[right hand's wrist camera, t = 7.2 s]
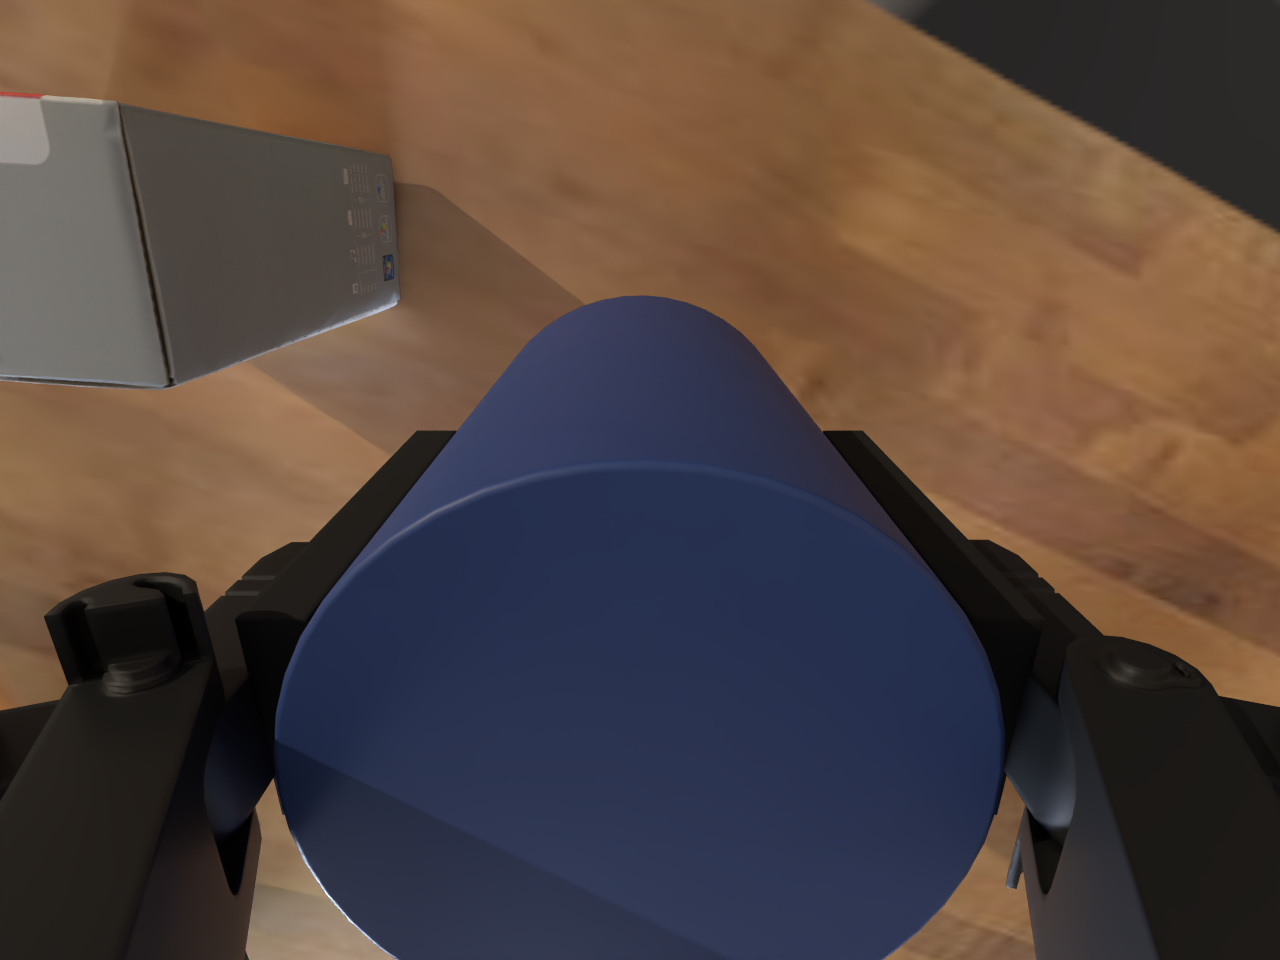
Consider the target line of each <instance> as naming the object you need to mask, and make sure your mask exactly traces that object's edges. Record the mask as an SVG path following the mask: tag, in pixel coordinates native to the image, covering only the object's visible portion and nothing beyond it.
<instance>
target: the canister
mask: <svg viewBox="0 0 1280 960" xmlns="http://www.w3.org/2000/svg"><path fill="white" fill-rule="evenodd" d="M1004 748H1005V730H1004V723H1003V716H1002V709H1001V703H1000V696H999V690H998V687H997V684H996V681H995V678H994V675H993V672H992V669H991V666H990V663H989V660H988V657H987V654H986V651H985V649H984V648H983V646H982V644H981V642H980V640H979V638H978V636H977V635H976V633H975V631H974V629H973V627H972V625H971V623H970V622H969V620H968V618H967V616H966V614H965V613H964V612H963V610H962V609H961V608H960V606H959V605H958V604H957V602H956V601H955V600H954V599H953V597H952V596H951V595H950V593H949V592H948V591H947V590H946V588H945V587H944V586H943V584H942V583H941V582H940V580H939V579H938V578H937V577H936V575H935V574H934V573H933V572H932V570H931V569H930V568H929V566H928V565H927V564H926V563H925V561H924V560H923V559H922V558H921V556H920V555H919V554H918V553H917V551H916V550H915V549H914V547H913V546H912V545H911V544H910V542H909V541H908V540H907V539H906V537H905V536H904V535H903V533H902V532H901V531H900V530H899V528H898V527H897V526H896V525H895V523H894V522H893V521H892V520H891V518H890V517H889V516H888V514H887V513H886V512H885V511H884V509H883V508H882V507H881V506H880V504H879V503H878V502H877V501H876V499H875V498H874V497H873V495H872V494H871V493H870V492H869V490H868V489H867V488H866V487H865V485H864V484H863V483H862V482H861V480H860V479H859V478H858V476H857V475H856V474H855V473H854V471H853V470H852V469H851V468H850V466H849V465H848V464H847V463H846V461H845V460H844V459H843V457H842V456H841V455H840V454H839V452H838V451H837V450H836V449H835V447H834V446H833V445H832V444H831V442H830V441H829V440H828V438H827V437H826V436H825V435H824V433H823V432H822V431H821V430H820V428H819V427H818V426H817V425H816V423H815V422H814V421H813V419H812V418H811V417H810V416H809V414H808V413H807V412H806V411H805V409H804V408H803V407H802V406H801V404H800V403H799V402H798V400H797V399H796V398H795V397H794V395H793V394H792V393H791V392H790V390H789V389H788V388H787V387H786V385H785V384H784V383H783V381H782V380H781V379H780V378H779V376H778V375H777V374H776V373H775V371H774V370H773V369H772V368H771V366H770V365H769V364H768V362H767V361H766V360H765V359H764V357H763V356H762V355H761V354H760V352H759V351H758V350H757V349H756V347H755V346H754V345H753V344H752V343H751V342H750V341H749V340H748V339H747V338H746V337H745V336H744V335H743V334H742V333H741V332H739V331H738V330H737V329H735V328H734V327H733V326H731V325H730V324H729V323H727V322H726V321H725V320H723V319H721V318H719V317H718V316H716V315H714V314H712V313H710V312H708V311H707V310H705V309H702V308H699V307H697V306H694V305H691V304H689V303H686V302H682V301H678V300H673V299H669V298H664V297H654V296H622V297H617V298H611V299H605V300H601V301H598V302H594V303H591V304H588V305H585V306H582V307H580V308H578V309H576V310H574V311H571V312H569V313H567V314H565V315H563V316H561V317H560V318H558V319H557V320H555V321H554V322H552V323H551V324H549V325H548V326H546V327H545V328H544V329H543V330H542V331H540V332H539V333H538V334H537V335H536V336H535V337H534V338H532V339H531V340H530V341H529V342H528V344H527V345H526V346H525V347H524V348H523V349H522V351H521V352H520V353H519V354H518V355H517V356H516V358H515V359H514V360H513V361H512V363H511V364H510V365H509V367H508V368H507V369H506V370H505V372H504V373H503V374H502V375H501V377H500V378H499V379H498V380H497V382H496V383H495V384H494V385H493V387H492V388H491V389H490V390H489V392H488V393H487V394H486V395H485V397H484V398H483V399H482V401H481V402H480V403H479V404H478V406H477V407H476V408H475V409H474V411H473V412H472V413H471V414H470V416H469V417H468V418H467V419H466V421H465V422H464V423H463V424H462V426H461V427H460V428H459V430H458V431H457V432H456V433H455V435H454V436H453V437H452V438H451V440H450V441H449V442H448V443H447V445H446V446H445V447H444V448H443V450H442V451H441V452H440V453H439V455H438V456H437V457H436V458H435V460H434V461H433V462H432V464H431V465H430V466H429V467H428V469H427V470H426V471H425V472H424V474H423V475H422V476H421V477H420V479H419V480H418V481H417V482H416V484H415V485H414V486H413V487H412V489H411V490H410V491H409V493H408V494H407V495H406V496H405V498H404V499H403V500H402V501H401V503H400V504H399V505H398V506H397V508H396V509H395V510H394V511H393V513H392V514H391V515H390V516H389V518H388V519H387V520H386V521H385V523H384V524H383V525H382V527H381V528H380V529H379V530H378V532H377V533H376V534H375V535H374V537H373V538H372V539H371V540H370V542H369V543H368V544H367V545H366V547H365V548H364V549H363V550H362V552H361V553H360V554H359V556H358V557H357V558H356V559H355V561H354V562H353V563H352V564H351V566H350V567H349V568H348V569H347V571H346V572H345V573H344V574H343V576H342V577H341V578H340V579H339V581H338V582H337V583H336V584H335V586H334V587H333V588H332V590H331V591H330V592H329V593H328V595H327V596H326V597H325V598H324V600H323V601H322V603H321V604H320V606H319V608H318V609H317V611H316V612H315V614H314V616H313V617H312V619H311V620H310V622H309V624H308V625H307V627H306V628H305V630H304V632H303V633H302V635H301V636H300V639H299V641H298V643H297V646H296V648H295V651H294V653H293V656H292V658H291V660H290V663H289V665H288V668H287V670H286V673H285V675H284V680H283V684H282V689H281V693H280V698H279V702H278V707H277V711H276V721H275V743H274V762H275V770H276V778H277V786H278V794H279V797H280V800H281V804H282V807H283V810H284V814H285V817H286V821H287V824H288V827H289V830H290V832H291V834H292V836H293V839H294V841H295V843H296V845H297V847H298V849H299V851H300V853H301V855H302V858H303V860H304V862H305V863H306V865H307V866H308V868H309V869H310V871H311V872H312V874H313V875H314V877H315V878H316V880H317V881H318V883H319V885H320V886H321V888H322V889H323V891H324V892H325V893H326V895H327V896H328V897H329V898H330V899H331V900H332V901H333V903H334V904H335V905H336V906H337V907H338V908H339V909H340V911H341V912H342V913H343V914H344V915H345V916H346V917H347V919H348V920H349V921H350V922H351V923H352V924H353V925H355V926H356V927H357V928H358V929H359V930H360V931H361V932H362V933H364V934H365V935H366V936H367V937H368V938H369V939H370V940H371V941H372V942H374V943H375V944H376V945H377V946H378V947H380V948H381V949H382V950H384V951H385V952H387V953H388V954H389V955H391V956H392V957H394V958H395V959H396V960H883V959H884V958H886V957H888V956H889V955H890V954H892V953H893V952H894V951H895V950H896V949H898V948H899V947H900V946H901V945H903V944H904V943H905V942H906V941H908V940H909V939H910V938H911V937H912V936H914V935H915V934H916V933H917V932H919V931H920V929H921V928H922V927H923V926H924V925H925V924H926V923H927V922H928V921H929V920H930V919H931V918H932V917H933V916H934V915H935V914H936V913H937V912H938V911H939V910H940V909H941V908H942V907H943V906H944V905H945V903H946V902H947V901H948V899H949V898H950V897H951V895H952V894H953V893H954V891H955V890H956V888H957V887H958V886H959V884H960V883H961V882H962V880H963V879H964V878H965V876H966V875H967V873H968V871H969V870H970V868H971V866H972V864H973V862H974V860H975V859H976V857H977V855H978V853H979V851H980V850H981V848H982V846H983V844H984V842H985V839H986V837H987V834H988V831H989V828H990V826H991V823H992V820H993V817H994V815H995V812H996V809H997V805H998V800H999V795H1000V790H1001V784H1002V779H1003V774H1004Z"/></svg>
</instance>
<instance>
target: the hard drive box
mask: <svg viewBox="0 0 1280 960" xmlns="http://www.w3.org/2000/svg"><path fill="white" fill-rule="evenodd" d="M399 299H400V283H399V263H398V246H397V232H396V216H395V200H394V186H393V172H392V162H391V158H390V157H389V156H387V155H383V154H379V153H374V152H370V151H365V150H360V149H355V148H350V147H345V146H340V145H335V144H330V143H324V142H318V141H312V140H307V139H301V138H296V137H290V136H285V135H279V134H274V133H268V132H263V131H257V130H252V129H247V128H242V127H237V126H231V125H226V124H221V123H216V122H211V121H206V120H201V119H196V118H191V117H186V116H181V115H176V114H171V113H166V112H161V111H156V110H151V109H146V108H141V107H136V106H132V105H127V104H122V103H118V102H117V101H115V100H111V101H106V100H97V99H88V98H74V97H59V96H49V95H37V94H23V93H9V92H0V380H1V381H14V382H27V383H41V384H54V385H68V386H82V387H101V388H120V389H145V390H165V389H169V388H172V387H176V386H179V385H182V384H185V383H187V382H189V381H192V380H195V379H198V378H201V377H204V376H207V375H210V374H212V373H215V372H218V371H220V370H223V369H225V368H228V367H231V366H233V365H236V364H239V363H241V362H244V361H247V360H250V359H252V358H255V357H258V356H260V355H263V354H266V353H268V352H271V351H274V350H276V349H279V348H282V347H284V346H287V345H290V344H293V343H295V342H298V341H301V340H304V339H307V338H309V337H312V336H315V335H317V334H320V333H323V332H326V331H328V330H331V329H334V328H337V327H339V326H342V325H345V324H348V323H350V322H353V321H356V320H358V319H361V318H364V317H367V316H369V315H372V314H375V313H378V312H380V311H383V310H386V309H388V308H391V307H393V306H395V305H396V304H397V301H398V300H399Z"/></svg>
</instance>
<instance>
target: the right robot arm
mask: <svg viewBox="0 0 1280 960" xmlns="http://www.w3.org/2000/svg"><path fill="white" fill-rule="evenodd" d="M455 433H456V431H416V432H415V433H414V434H413V435H412V436H411V437H410V438H409V439H408V440H407V441H406V443H405V444H404V445H403V446H402V447H401V448H400V449H399V450H398V451H397V452H396V453H395V454H394V455H393V456H392V457H391V458H390V459H389V460H388V461H387V462H386V463H385V464H384V465H383V466H382V467H381V468H380V469H379V470H378V471H377V472H376V473H375V475H374V476H373V477H372V478H371V479H370V480H369V481H368V482H367V483H366V484H365V485H364V486H363V487H362V488H361V489H360V490H359V491H358V492H357V493H356V494H355V495H354V496H353V497H352V498H351V499H350V500H349V501H348V502H347V503H346V504H345V506H344V507H343V508H342V509H341V510H340V511H339V512H338V513H337V514H336V515H335V516H334V517H333V518H332V519H331V520H330V521H329V522H328V523H327V524H326V525H325V526H324V527H323V528H322V529H321V530H320V531H319V532H318V533H317V534H316V535H315V537H314V538H313V539H312V540H311V541H310V542H291V543H289V544H287V545H285V546H283V547H281V548H280V549H278V550H276V551H274V552H272V553H270V554H268V555H266V556H264V557H262V558H261V559H260V560H259V561H258V562H257V563H256V564H255V565H253V566H252V567H251V568H250V569H249V570H248V571H247V572H246V573H245V574H244V575H243V576H242V580H238V581H237V582H236V583H234V584H233V585H232V586H231V587H230V588H229V589H228V590H227V591H226V595H225V596H221V597H220V598H219V599H218V600H216V601H215V602H214V603H213V604H212V605H211V606H210V607H209V608H208V609H207V610H206V611H205V612H204V611H203V607H202V603H201V600H200V596H199V592H198V588H197V584H196V582H195V581H194V580H192V579H191V578H189V577H187V576H186V575H182V574H174V573H167V572H162V573H149V574H138V575H133V576H129V577H124V578H120V579H115V580H111V581H108V582H105V583H102V584H99V585H96V586H94V587H91V588H88V589H85V590H83V591H81V592H79V593H77V594H75V595H73V596H71V597H69V598H67V599H66V600H64V601H62V602H60V603H58V604H57V605H56V606H55V607H54V608H53V609H52V610H51V611H49V612H48V613H47V614H46V615H45V616H44V619H45V621H46V624H47V627H48V630H49V632H50V635H51V638H52V641H53V643H54V646H55V649H56V652H57V655H58V657H59V660H60V663H61V666H62V668H63V671H64V674H65V677H66V680H67V682H68V685H69V686H68V687H67V689H66V691H65V692H64V694H63V696H62V697H61V699H60V700H55V701H50V702H44V703H39V704H34V705H28V706H23V707H18V708H12V709H7V710H2V711H0V960H244V955H245V949H246V942H247V935H248V928H249V921H250V914H251V908H252V901H253V894H254V887H255V880H256V873H257V867H258V860H259V853H260V846H261V839H262V838H261V831H260V824H259V820H258V816H257V813H256V809H255V806H256V804H257V803H258V801H259V800H260V798H261V796H262V795H263V793H264V792H265V790H266V789H267V787H268V785H269V784H270V782H271V781H272V779H273V778H274V782H275V786H276V790H277V794H278V786H277V778H276V770H275V762H274V743H275V721H276V711H277V707H278V702H279V698H280V693H281V689H282V684H283V680H284V675H285V673H286V670H287V668H288V665H289V663H290V660H291V658H292V656H293V653H294V651H295V648H296V646H297V643H298V641H299V639H300V636H301V635H302V633H303V632H304V630H305V628H306V627H307V625H308V624H309V622H310V620H311V619H312V617H313V616H314V614H315V612H316V611H317V609H318V608H319V606H320V604H321V603H322V601H323V600H324V598H325V597H326V596H327V595H328V593H329V592H330V591H331V590H332V588H333V587H334V586H335V584H336V583H337V582H338V581H339V579H340V578H341V577H342V576H343V574H344V573H345V572H346V571H347V569H348V568H349V567H350V566H351V564H352V563H353V562H354V561H355V559H356V558H357V557H358V556H359V554H360V553H361V552H362V550H363V549H364V548H365V547H366V545H367V544H368V543H369V542H370V540H371V539H372V538H373V537H374V535H375V534H376V533H377V532H378V530H379V529H380V528H381V527H382V525H383V524H384V523H385V521H386V520H387V519H388V518H389V516H390V515H391V514H392V513H393V511H394V510H395V509H396V508H397V506H398V505H399V504H400V503H401V501H402V500H403V499H404V498H405V496H406V495H407V494H408V493H409V491H410V490H411V489H412V487H413V486H414V485H415V484H416V482H417V481H418V480H419V479H420V477H421V476H422V475H423V474H424V472H425V471H426V470H427V469H428V467H429V466H430V465H431V464H432V462H433V461H434V460H435V458H436V457H437V456H438V455H439V453H440V452H441V451H442V450H443V448H444V447H445V446H446V445H447V443H448V442H449V441H450V440H451V438H452V437H453V436H454V435H455ZM823 433H824V435H825V436H826V437H827V438H828V440H829V441H830V442H831V444H832V445H833V446H834V447H835V449H836V450H837V451H838V452H839V454H840V455H841V456H842V457H843V459H844V460H845V461H846V463H847V464H848V465H849V466H850V468H851V469H852V470H853V471H854V473H855V474H856V475H857V476H858V478H859V479H860V480H861V482H862V483H863V484H864V485H865V487H866V488H867V489H868V490H869V492H870V493H871V494H872V495H873V497H874V498H875V499H876V501H877V502H878V503H879V504H880V506H881V507H882V508H883V509H884V511H885V512H886V513H887V514H888V516H889V517H890V518H891V520H892V521H893V522H894V523H895V525H896V526H897V527H898V528H899V530H900V531H901V532H902V533H903V535H904V536H905V537H906V539H907V540H908V541H909V542H910V544H911V545H912V546H913V547H914V549H915V550H916V551H917V553H918V554H919V555H920V556H921V558H922V559H923V560H924V561H925V563H926V564H927V565H928V566H929V568H930V569H931V570H932V572H933V573H934V574H935V575H936V577H937V578H938V579H939V580H940V582H941V583H942V584H943V586H944V587H945V588H946V590H947V591H948V592H949V593H950V595H951V596H952V597H953V599H954V600H955V601H956V602H957V604H958V605H959V606H960V608H961V609H962V610H963V612H964V613H965V614H966V616H967V618H968V620H969V622H970V623H971V625H972V627H973V629H974V631H975V633H976V635H977V636H978V638H979V640H980V642H981V644H982V646H983V648H984V649H985V651H986V654H987V657H988V660H989V663H990V666H991V669H992V672H993V675H994V678H995V681H996V684H997V687H998V690H999V696H1000V703H1001V709H1002V716H1003V723H1004V730H1005V748H1004V774H1003V779H1002V784H1001V790H1000V795H999V800H998V805H997V809H996V812H995V815H997V812H998V808H999V804H1000V800H1001V796H1002V792H1003V788H1004V784H1005V780H1006V776H1008V778H1009V779H1010V781H1011V782H1012V784H1013V786H1014V787H1015V789H1016V790H1017V792H1018V793H1019V795H1020V797H1021V798H1022V800H1023V801H1024V803H1025V804H1026V805H1025V809H1024V813H1023V816H1022V820H1021V824H1020V828H1019V832H1018V835H1017V839H1016V843H1015V847H1014V851H1013V854H1012V858H1011V862H1010V866H1009V870H1008V875H1007V881H1006V886H1007V887H1010V888H1014V889H1017V885H1018V881H1019V878H1020V874H1021V873H1022V872H1024V878H1025V885H1026V892H1027V899H1028V906H1029V912H1030V919H1031V926H1032V933H1033V940H1034V946H1035V953H1036V960H1280V707H1276V706H1270V705H1265V704H1259V703H1254V702H1249V701H1243V700H1238V699H1233V698H1227V697H1222V696H1218V694H1217V693H1216V691H1215V689H1214V688H1213V686H1212V684H1211V683H1210V682H1209V681H1208V680H1207V679H1206V678H1205V677H1204V676H1203V675H1202V673H1201V672H1200V671H1199V670H1198V669H1196V668H1195V667H1193V666H1192V665H1190V664H1189V663H1187V662H1185V661H1184V660H1182V659H1181V658H1179V657H1178V656H1176V655H1174V654H1172V653H1169V652H1167V651H1164V650H1162V649H1160V648H1157V647H1155V646H1152V645H1150V644H1147V643H1143V642H1139V641H1135V640H1131V639H1127V638H1123V637H1115V636H1104V635H1103V634H1102V633H1101V632H1100V631H1099V630H1098V629H1097V628H1095V627H1094V626H1093V625H1092V624H1091V623H1090V622H1089V621H1088V620H1087V619H1086V618H1085V617H1084V616H1083V615H1082V614H1081V613H1079V612H1078V611H1077V610H1076V609H1075V608H1074V607H1073V606H1072V605H1071V604H1070V603H1069V602H1068V601H1067V600H1066V599H1065V598H1063V597H1062V596H1061V595H1060V594H1059V593H1055V591H1054V590H1055V589H1054V588H1053V587H1052V586H1051V585H1050V584H1049V583H1047V582H1046V581H1045V580H1044V579H1043V578H1038V573H1037V572H1036V571H1035V570H1034V569H1032V568H1031V567H1030V566H1029V565H1028V564H1027V563H1026V562H1025V561H1024V560H1023V559H1022V558H1021V557H1020V556H1019V555H1017V554H1015V553H1013V552H1011V551H1009V550H1007V549H1005V548H1003V547H1001V546H999V545H997V544H996V543H994V542H992V541H990V540H968V539H967V538H966V537H965V536H964V535H963V534H962V533H961V532H960V531H959V530H958V529H957V528H956V527H955V526H954V525H953V524H952V523H951V522H950V521H949V519H948V518H947V517H946V516H945V515H944V514H943V513H942V512H941V511H940V510H939V509H938V508H937V507H936V506H935V505H934V504H933V503H932V502H931V501H930V500H929V499H928V498H927V497H926V496H925V495H924V494H923V493H922V492H921V491H920V490H919V488H918V487H917V486H916V485H915V484H914V483H913V482H912V481H911V480H910V479H909V478H908V477H907V476H906V475H905V474H904V473H903V472H902V471H901V470H900V469H899V468H898V467H897V466H896V465H895V464H894V463H893V462H892V461H891V460H890V459H889V457H888V456H887V455H886V454H885V453H884V452H883V451H882V450H881V449H880V448H879V447H878V446H877V445H876V444H875V443H874V442H873V441H872V440H871V439H870V438H869V437H868V436H867V435H866V434H865V433H864V432H863V431H823ZM278 798H279V802H280V806H281V810H282V814H283V815H285V814H284V810H283V807H282V804H281V800H280V797H279V794H278Z"/></svg>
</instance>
